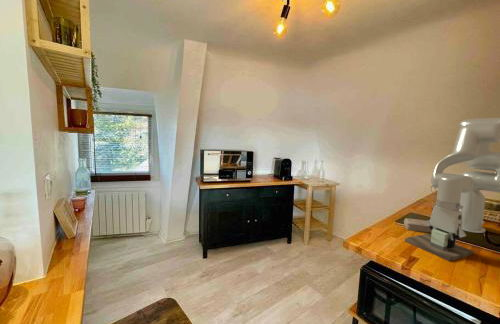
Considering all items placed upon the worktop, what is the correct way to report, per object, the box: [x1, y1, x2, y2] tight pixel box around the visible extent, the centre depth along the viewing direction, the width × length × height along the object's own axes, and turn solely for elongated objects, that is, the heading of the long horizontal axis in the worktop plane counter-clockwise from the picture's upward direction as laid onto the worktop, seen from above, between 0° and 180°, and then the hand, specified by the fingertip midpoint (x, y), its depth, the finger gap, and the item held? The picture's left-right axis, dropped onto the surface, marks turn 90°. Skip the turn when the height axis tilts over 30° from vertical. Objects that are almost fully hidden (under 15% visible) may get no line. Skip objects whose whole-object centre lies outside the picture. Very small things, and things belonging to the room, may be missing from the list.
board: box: [404, 232, 474, 262], centre depth 100 cm, size 16×18×2 cm
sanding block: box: [430, 229, 458, 250], centre depth 98 cm, size 8×5×7 cm, turn 109°
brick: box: [403, 218, 432, 234], centre depth 119 cm, size 17×8×5 cm, turn 68°
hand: (442, 244), depth 98 cm, fingers closed on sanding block, 5 cm apart
